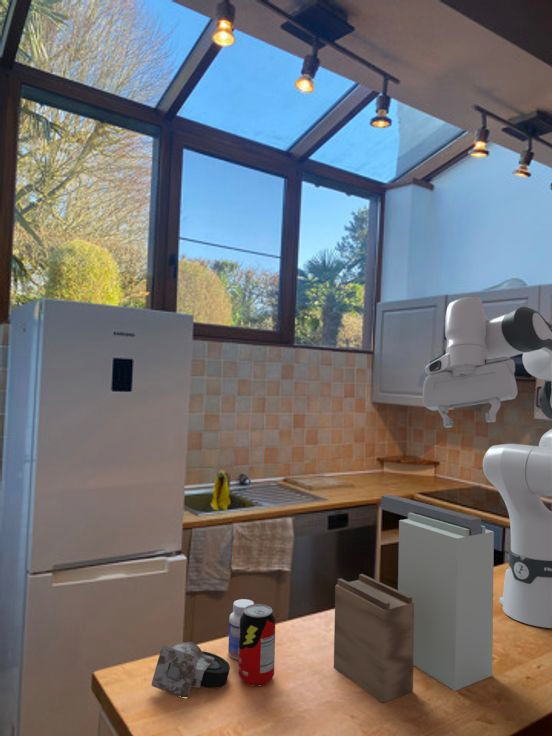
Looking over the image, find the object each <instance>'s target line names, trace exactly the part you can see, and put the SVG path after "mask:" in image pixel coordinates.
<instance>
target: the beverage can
mask: <svg viewBox="0 0 552 736" xmlns="http://www.w3.org/2000/svg"><path fill="white" fill-rule="evenodd" d="M275 648H276V618H275V616H274V614H273V609H272V607H271V606H269V605H266V604H262V603H261V604H259V603H256V604H255V603H254V604H253V605H249V606H247V607H245V608H244V613H243V615H242V616H241V618H240V634H239V660H238V676H239V678H240V679H241V681H242V682H244V683H245V684H246V683H247V684H246V685H248V684H249V686H251V685H253V686H252V687H259V685H261V686H264V685H266V684H268V683H269V682H271V680H272V679H273V678H274V675H275V660H276V659H275V656H276V655H275V654H276V653H275V652H276V651H275V650H276V649H275ZM267 682H268V683H267Z"/></svg>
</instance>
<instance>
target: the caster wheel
mask: <svg viewBox="0 0 552 736" xmlns="http://www.w3.org/2000/svg"><path fill="white" fill-rule="evenodd" d="M230 670H231V666H230V664H229V663H228V662H227V660H226V659H224V658H223V657H221V656H219V655H217V654H215V653H211V652H208V651H202V649H201V647H200V646H198V645H197V644H196V643H193V642H192V641H184V642H181V643H177V644H176V645H174V646H173V647H170V646H167V645H165V644H164V645H161V649H160V652H159V655H158V660H157V663H156V666H155V670H154V674H153V676H152V677H153V678H152V680H151V687H153V688H156V689H159V690H161V691H164V692H166V693H169V694H171V695H174V696H176V697H178V696H181V697H188V698H189V695H190V692H191V688H192V687H193V688H197V689H199V688H201V687H202V688H206V689H207V688H208V689H218V688H219V689H220V688H222V687H224V686H225V685H226V684H227V682H228V678H229V676H230ZM181 697H180V698H181Z"/></svg>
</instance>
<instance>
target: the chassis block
mask: <svg viewBox="0 0 552 736" xmlns="http://www.w3.org/2000/svg"><path fill="white" fill-rule="evenodd" d="M333 636H334V639H333V641H334V642H333V647H334V648H333V668H334V669H336V671H339V672H340V673H341V674H343V675H344V676H345V677H347V678H348V679H350V681H352V682H353V683H355V684H356V685H357V686H358V687H360V688H362V689H363V690H365V692H366V693H368V694H369V695H371V696H372V697H374V698H375V699H377V700H378V701H379V702H380V703H382V704H383V703H386V702H389V701H391V700H393V699H396V698H399V697H401V696H404V695H407V694H409V693H412V692H414V665H413V652H414V602H412V597H411V596H409V595H406V594H404V593H402V592H400V591H398V589H395V588H393V587H392V586H389V585H387V584H385V583H383V582H380V581H379V580H376V579H374V578H372V577H370V576H368V575H366V574H363V573H360V574H359V575H358V579H355V580H351V581H347V580H345V579H344V578H337V584H335V587H334V635H333Z"/></svg>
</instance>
